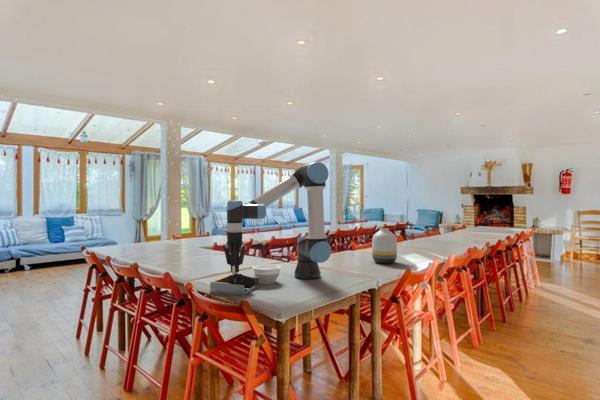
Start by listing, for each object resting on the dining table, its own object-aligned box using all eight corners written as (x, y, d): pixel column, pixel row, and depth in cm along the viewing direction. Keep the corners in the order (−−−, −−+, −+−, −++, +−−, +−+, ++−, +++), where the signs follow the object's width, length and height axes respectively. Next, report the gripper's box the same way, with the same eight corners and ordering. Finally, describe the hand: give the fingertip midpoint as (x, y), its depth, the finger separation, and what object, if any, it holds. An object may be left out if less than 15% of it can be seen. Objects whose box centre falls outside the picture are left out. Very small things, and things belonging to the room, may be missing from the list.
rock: (223, 277, 165) (239, 264, 166) (231, 280, 172) (246, 267, 173) (235, 295, 160) (251, 281, 161) (242, 297, 167) (258, 284, 168)
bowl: (256, 287, 177) (256, 270, 177) (248, 280, 191) (248, 265, 191) (286, 284, 183) (285, 268, 183) (275, 278, 198) (275, 263, 198)
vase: (372, 264, 238) (372, 229, 238) (371, 260, 254) (371, 227, 254) (398, 265, 235) (398, 229, 235) (395, 260, 252) (395, 227, 252)
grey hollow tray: (259, 287, 177) (259, 277, 177) (243, 295, 161) (243, 285, 161) (229, 284, 183) (229, 274, 183) (210, 292, 167) (210, 282, 167)
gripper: (250, 231, 174) (250, 278, 174) (227, 230, 178) (227, 276, 178) (242, 232, 166) (242, 281, 166) (219, 231, 171) (219, 279, 171)
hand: (234, 278), depth 172 cm, fingers closed
